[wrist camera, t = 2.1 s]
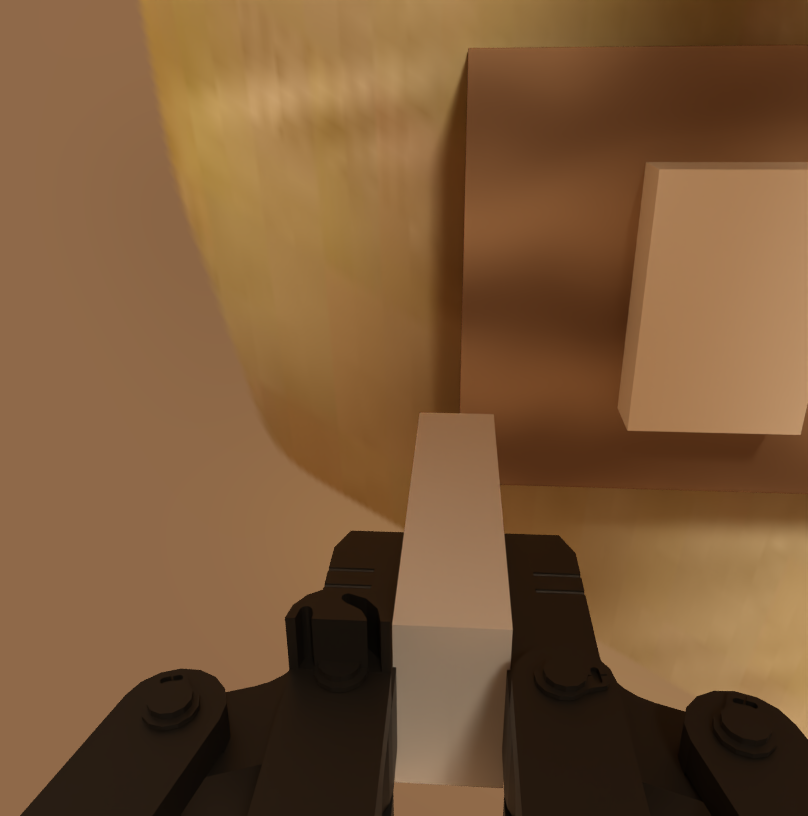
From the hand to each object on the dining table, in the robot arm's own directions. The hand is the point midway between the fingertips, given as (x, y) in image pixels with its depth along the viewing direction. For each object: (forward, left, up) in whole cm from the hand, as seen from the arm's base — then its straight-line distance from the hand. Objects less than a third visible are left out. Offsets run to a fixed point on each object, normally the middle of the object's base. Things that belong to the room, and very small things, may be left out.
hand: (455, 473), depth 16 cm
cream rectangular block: (0, +9, -13) cm, 16 cm away
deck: (0, +10, -17) cm, 20 cm away
